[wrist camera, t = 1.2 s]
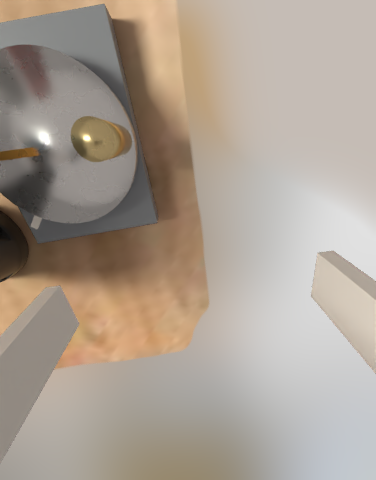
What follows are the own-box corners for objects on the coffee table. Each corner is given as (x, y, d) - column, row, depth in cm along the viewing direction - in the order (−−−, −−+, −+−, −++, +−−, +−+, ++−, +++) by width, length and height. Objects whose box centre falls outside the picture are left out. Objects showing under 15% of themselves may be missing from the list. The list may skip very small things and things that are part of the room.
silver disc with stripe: (-13, 198, 30) (-109, 227, 20) (-31, 21, 22) (-206, -81, 12) (125, 231, 34) (104, 270, 24) (152, 90, 26) (139, 57, 16)
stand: (158, 216, 37) (157, 223, 34) (47, 236, 37) (37, 244, 34) (111, 18, 25) (103, 2, 22) (-48, 47, 25) (-78, 35, 22)
